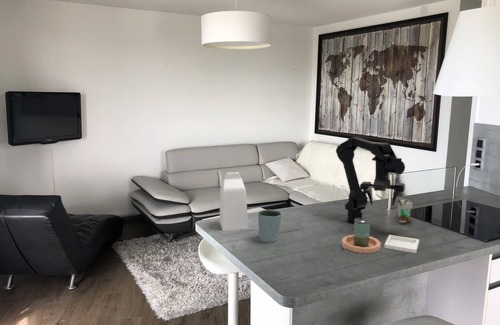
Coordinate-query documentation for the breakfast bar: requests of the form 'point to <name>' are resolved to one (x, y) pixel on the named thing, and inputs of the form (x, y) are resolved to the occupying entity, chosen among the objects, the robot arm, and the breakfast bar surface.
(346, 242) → the bowl
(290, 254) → the breakfast bar surface
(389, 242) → the tray
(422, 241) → the breakfast bar surface
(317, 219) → the breakfast bar surface
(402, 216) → the food container
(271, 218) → the blue-grey cup
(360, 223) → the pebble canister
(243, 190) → the milk
